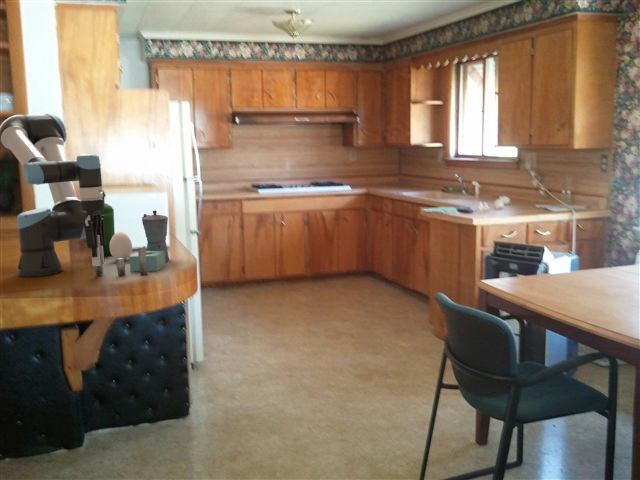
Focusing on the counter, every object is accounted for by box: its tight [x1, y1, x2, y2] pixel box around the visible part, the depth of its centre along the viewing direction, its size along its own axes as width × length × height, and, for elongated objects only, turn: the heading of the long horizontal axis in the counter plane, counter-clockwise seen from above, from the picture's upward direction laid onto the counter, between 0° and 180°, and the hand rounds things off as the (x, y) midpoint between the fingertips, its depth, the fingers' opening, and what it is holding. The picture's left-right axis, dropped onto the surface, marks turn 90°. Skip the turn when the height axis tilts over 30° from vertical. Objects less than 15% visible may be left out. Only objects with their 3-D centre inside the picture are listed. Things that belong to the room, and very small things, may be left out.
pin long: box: [94, 235, 104, 276], centre depth 229 cm, size 3×3×14 cm
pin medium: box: [137, 245, 148, 276], centre depth 228 cm, size 3×3×10 cm
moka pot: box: [141, 210, 170, 263], centre depth 251 cm, size 10×15×20 cm, turn 53°
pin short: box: [115, 258, 126, 277], centre depth 229 cm, size 3×3×6 cm
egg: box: [109, 231, 133, 261], centre depth 256 cm, size 9×9×12 cm
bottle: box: [100, 190, 116, 258], centre depth 267 cm, size 11×11×28 cm
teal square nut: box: [128, 250, 166, 272], centre depth 239 cm, size 10×10×6 cm
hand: (98, 264), depth 230 cm, fingers closed on pin long, 2 cm apart
